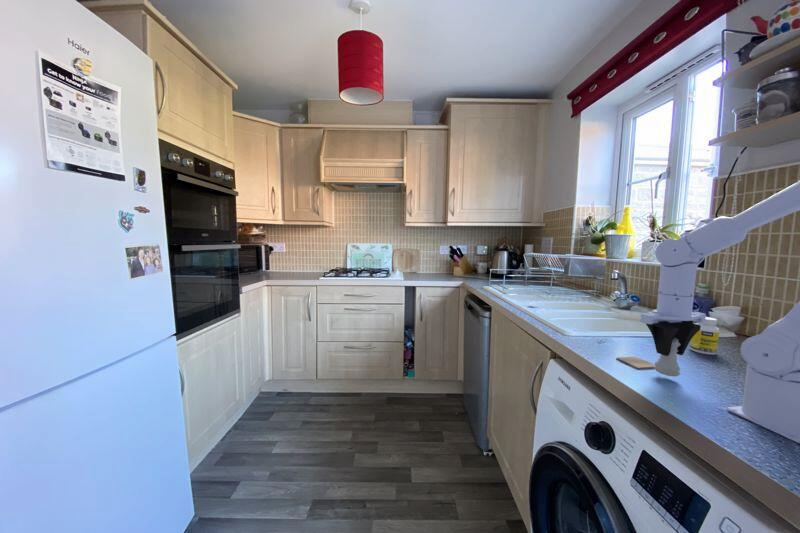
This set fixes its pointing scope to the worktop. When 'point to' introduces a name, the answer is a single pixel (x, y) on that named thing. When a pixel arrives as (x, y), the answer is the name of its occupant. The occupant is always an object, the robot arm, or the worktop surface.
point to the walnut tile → (636, 362)
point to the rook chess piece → (669, 361)
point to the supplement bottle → (706, 337)
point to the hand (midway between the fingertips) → (669, 353)
